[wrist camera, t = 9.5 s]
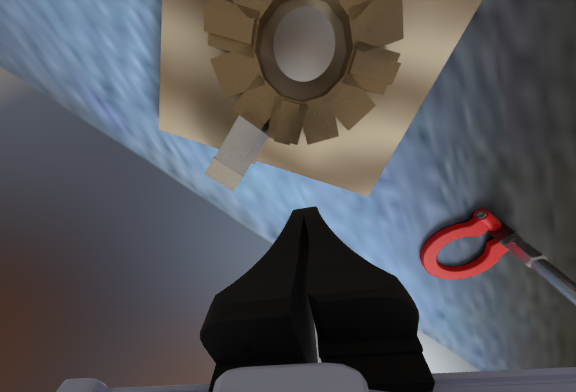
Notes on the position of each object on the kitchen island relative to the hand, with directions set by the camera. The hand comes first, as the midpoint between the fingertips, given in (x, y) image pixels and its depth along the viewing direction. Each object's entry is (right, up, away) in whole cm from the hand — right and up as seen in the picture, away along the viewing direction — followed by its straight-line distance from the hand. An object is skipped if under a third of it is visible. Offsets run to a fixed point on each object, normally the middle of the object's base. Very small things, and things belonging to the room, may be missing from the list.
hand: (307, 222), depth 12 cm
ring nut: (-1, +10, +4) cm, 11 cm away
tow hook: (+19, -4, +13) cm, 24 cm away
